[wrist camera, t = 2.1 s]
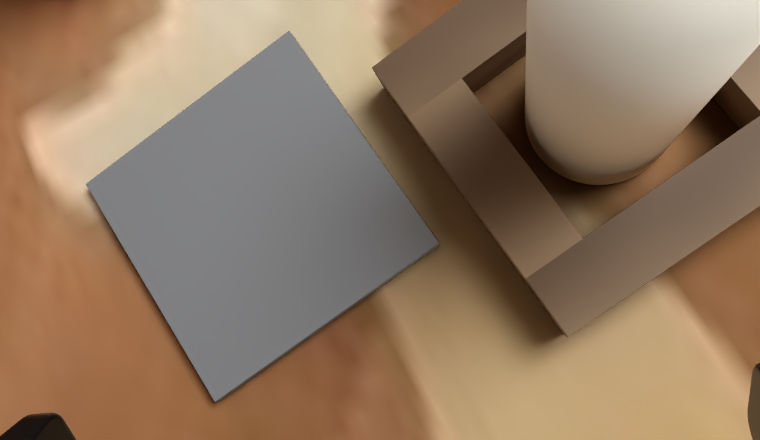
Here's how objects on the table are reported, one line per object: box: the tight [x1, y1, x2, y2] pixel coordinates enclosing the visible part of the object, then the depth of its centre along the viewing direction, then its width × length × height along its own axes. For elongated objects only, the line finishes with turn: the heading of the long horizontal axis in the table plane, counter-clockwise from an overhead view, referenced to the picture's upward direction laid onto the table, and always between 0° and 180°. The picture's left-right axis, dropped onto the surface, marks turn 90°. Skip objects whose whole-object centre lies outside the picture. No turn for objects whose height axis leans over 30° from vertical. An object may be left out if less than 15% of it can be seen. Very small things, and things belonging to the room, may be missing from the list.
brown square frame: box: [372, 0, 760, 337], centre depth 22 cm, size 10×10×2 cm
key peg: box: [525, 0, 760, 185], centre depth 17 cm, size 5×5×12 cm
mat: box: [86, 31, 441, 402], centre depth 24 cm, size 9×9×1 cm
